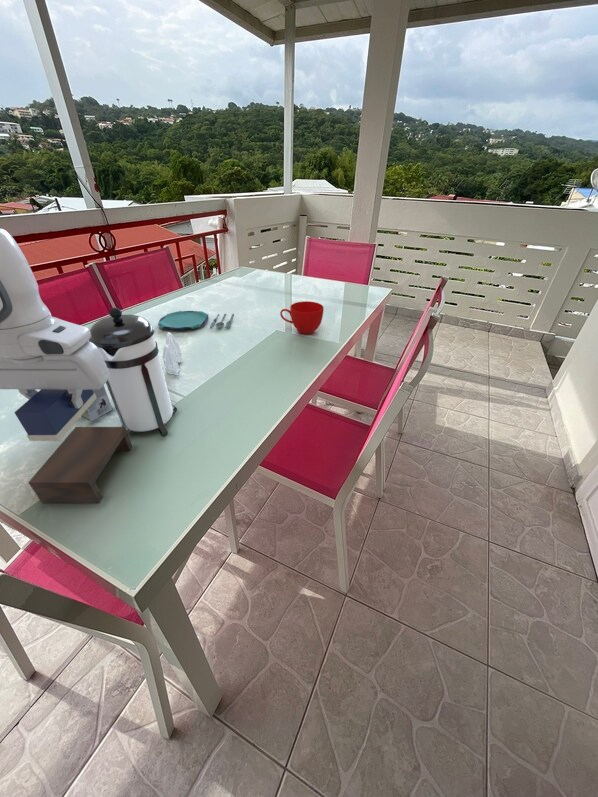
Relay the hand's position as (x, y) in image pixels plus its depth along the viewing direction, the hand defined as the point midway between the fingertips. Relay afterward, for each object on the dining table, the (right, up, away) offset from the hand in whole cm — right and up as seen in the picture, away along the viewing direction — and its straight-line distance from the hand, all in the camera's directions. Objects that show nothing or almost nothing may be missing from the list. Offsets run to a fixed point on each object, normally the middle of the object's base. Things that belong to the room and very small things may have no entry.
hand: (60, 406), depth 60 cm
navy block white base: (0, -2, +1) cm, 3 cm away
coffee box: (-12, -2, +28) cm, 31 cm away
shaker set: (+3, +12, +48) cm, 50 cm away
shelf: (-1, -14, +10) cm, 18 cm away
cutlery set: (+1, +33, +79) cm, 85 cm away
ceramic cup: (+45, +29, +73) cm, 91 cm away
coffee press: (+5, -4, +25) cm, 26 cm away
